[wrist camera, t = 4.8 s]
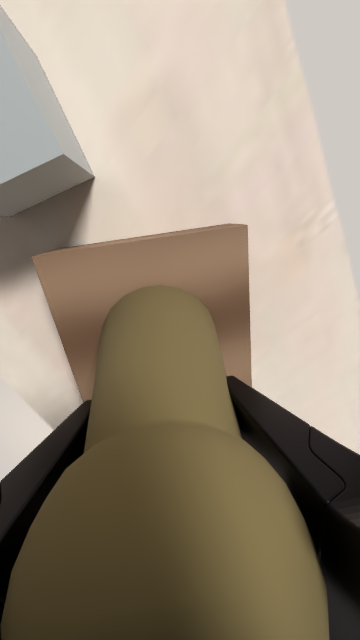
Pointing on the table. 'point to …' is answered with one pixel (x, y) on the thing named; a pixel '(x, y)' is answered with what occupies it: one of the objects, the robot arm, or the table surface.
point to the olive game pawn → (166, 504)
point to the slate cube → (32, 130)
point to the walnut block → (142, 271)
